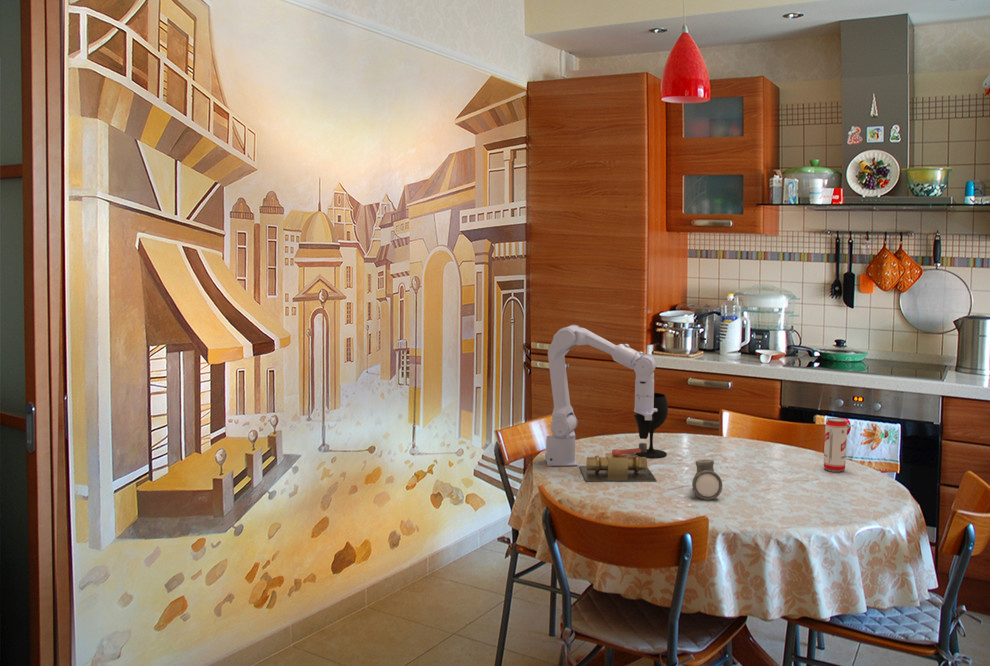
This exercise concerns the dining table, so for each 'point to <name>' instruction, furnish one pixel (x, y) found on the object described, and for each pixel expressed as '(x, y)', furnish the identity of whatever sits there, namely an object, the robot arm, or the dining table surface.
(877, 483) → the dining table surface
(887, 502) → the dining table surface
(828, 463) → the beer can
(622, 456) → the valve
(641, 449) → the lever
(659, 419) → the wine glass
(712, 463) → the pipe fitting
